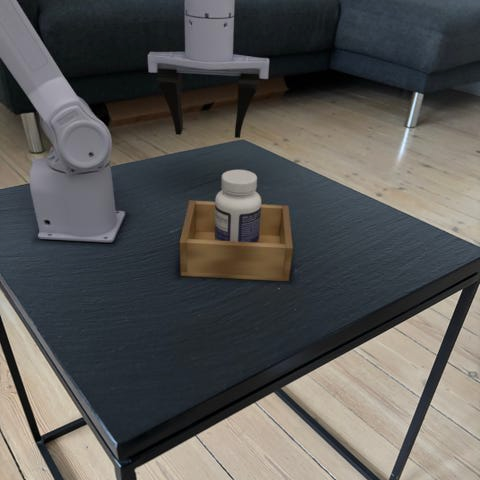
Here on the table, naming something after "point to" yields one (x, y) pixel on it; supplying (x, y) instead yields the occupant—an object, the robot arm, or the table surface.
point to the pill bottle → (238, 208)
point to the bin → (236, 246)
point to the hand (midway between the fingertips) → (208, 133)
